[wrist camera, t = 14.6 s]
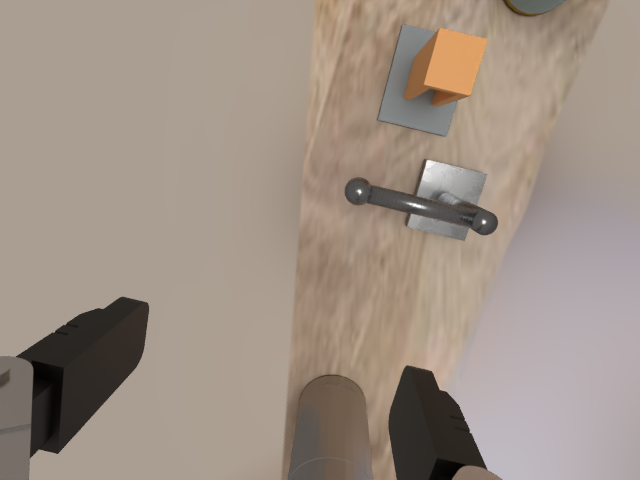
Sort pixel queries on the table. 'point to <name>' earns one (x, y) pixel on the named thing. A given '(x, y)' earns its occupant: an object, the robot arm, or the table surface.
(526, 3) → the bottle
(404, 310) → the table surface
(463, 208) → the stand
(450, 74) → the link
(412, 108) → the mat
